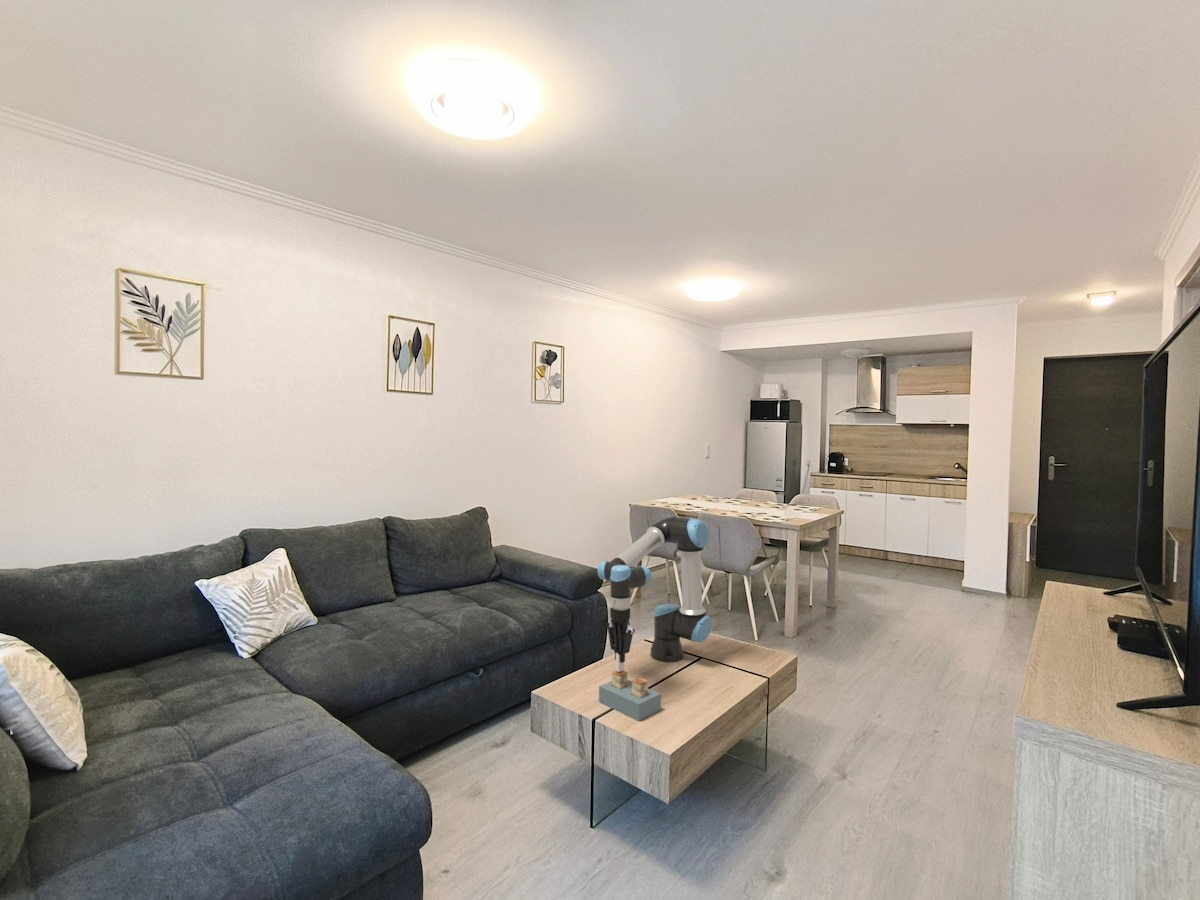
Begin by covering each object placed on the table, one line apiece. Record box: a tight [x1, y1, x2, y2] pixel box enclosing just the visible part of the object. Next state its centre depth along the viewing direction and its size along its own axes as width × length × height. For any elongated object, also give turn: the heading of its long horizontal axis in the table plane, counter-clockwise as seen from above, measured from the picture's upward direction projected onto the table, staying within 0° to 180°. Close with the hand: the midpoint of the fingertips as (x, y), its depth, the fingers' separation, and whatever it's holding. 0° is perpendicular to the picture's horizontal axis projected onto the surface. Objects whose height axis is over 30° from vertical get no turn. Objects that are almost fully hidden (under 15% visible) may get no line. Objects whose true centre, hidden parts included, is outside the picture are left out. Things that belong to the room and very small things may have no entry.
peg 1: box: [611, 670, 628, 689], centre depth 211 cm, size 4×4×6 cm
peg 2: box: [631, 676, 649, 698], centre depth 203 cm, size 4×4×6 cm
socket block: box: [598, 679, 662, 722], centre depth 207 cm, size 12×20×6 cm, turn 44°
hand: (619, 670), depth 210 cm, fingers closed
